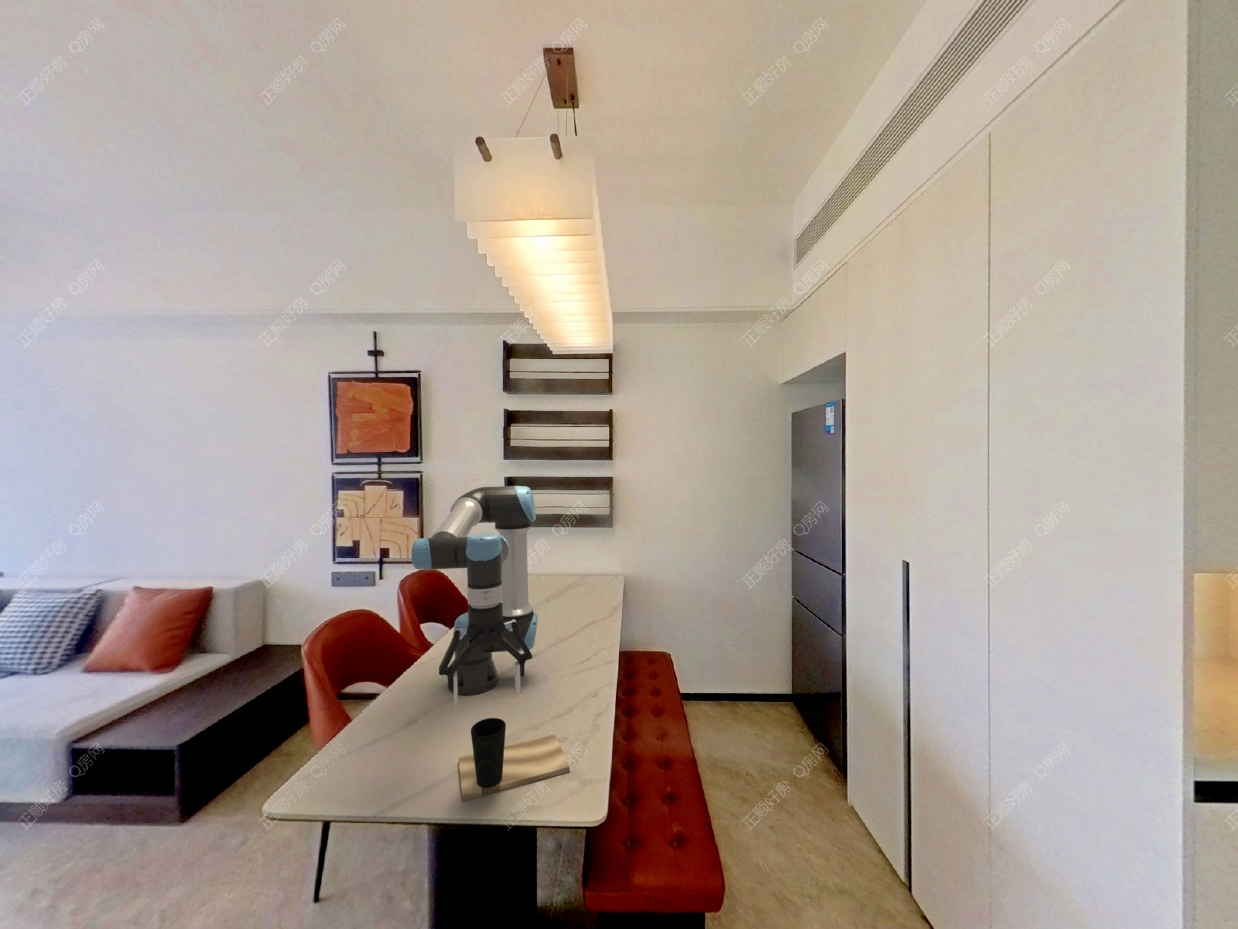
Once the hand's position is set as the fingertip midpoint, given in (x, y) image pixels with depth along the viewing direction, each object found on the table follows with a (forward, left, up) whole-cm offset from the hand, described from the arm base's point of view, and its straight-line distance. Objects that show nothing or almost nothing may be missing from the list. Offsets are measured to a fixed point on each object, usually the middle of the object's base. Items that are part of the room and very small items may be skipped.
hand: (487, 696), depth 107 cm
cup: (0, 0, -19) cm, 19 cm away
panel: (-4, +6, -20) cm, 21 cm away
